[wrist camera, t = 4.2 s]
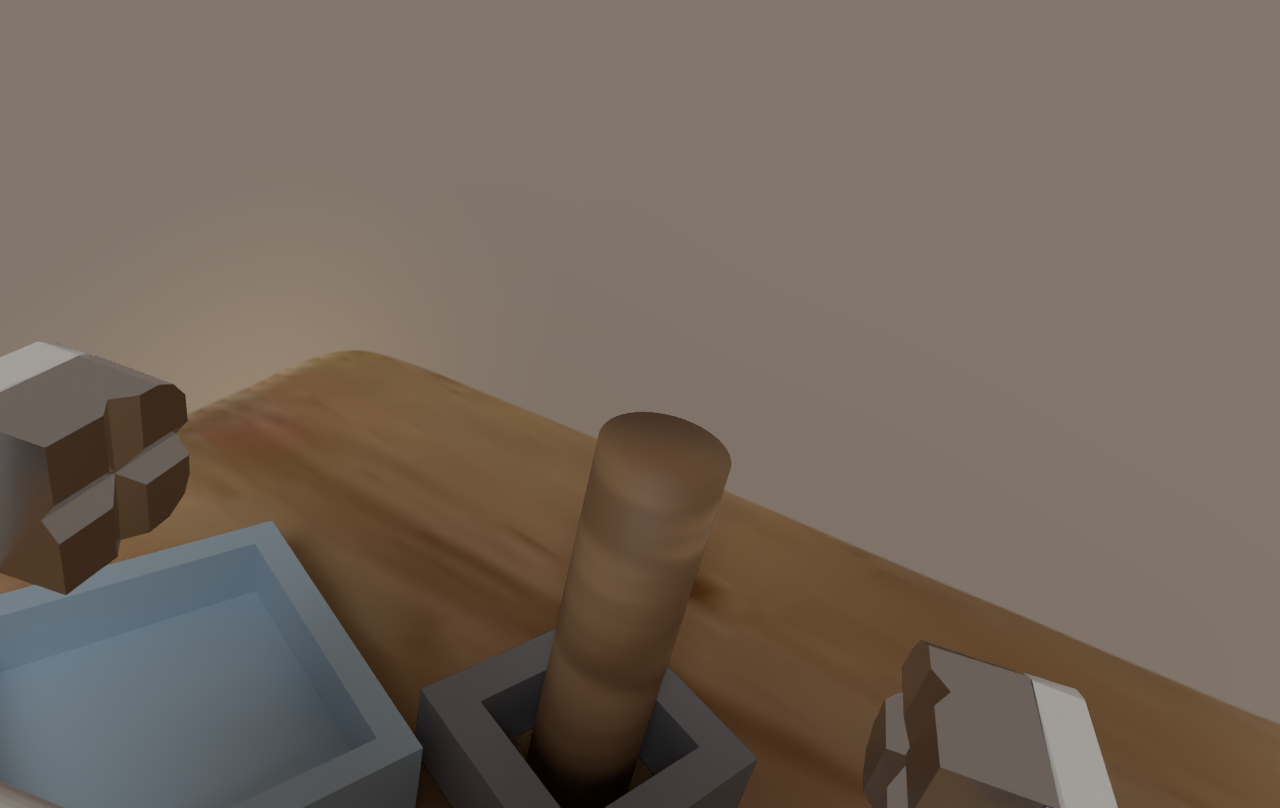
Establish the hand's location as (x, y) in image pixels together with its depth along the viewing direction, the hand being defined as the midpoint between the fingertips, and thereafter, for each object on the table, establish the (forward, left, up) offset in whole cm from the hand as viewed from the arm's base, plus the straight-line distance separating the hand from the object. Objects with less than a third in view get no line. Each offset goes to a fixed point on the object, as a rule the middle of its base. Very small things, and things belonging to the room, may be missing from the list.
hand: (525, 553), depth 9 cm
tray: (+1, -15, -20) cm, 25 cm away
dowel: (-10, -7, -20) cm, 23 cm away
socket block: (-10, -7, -20) cm, 23 cm away
